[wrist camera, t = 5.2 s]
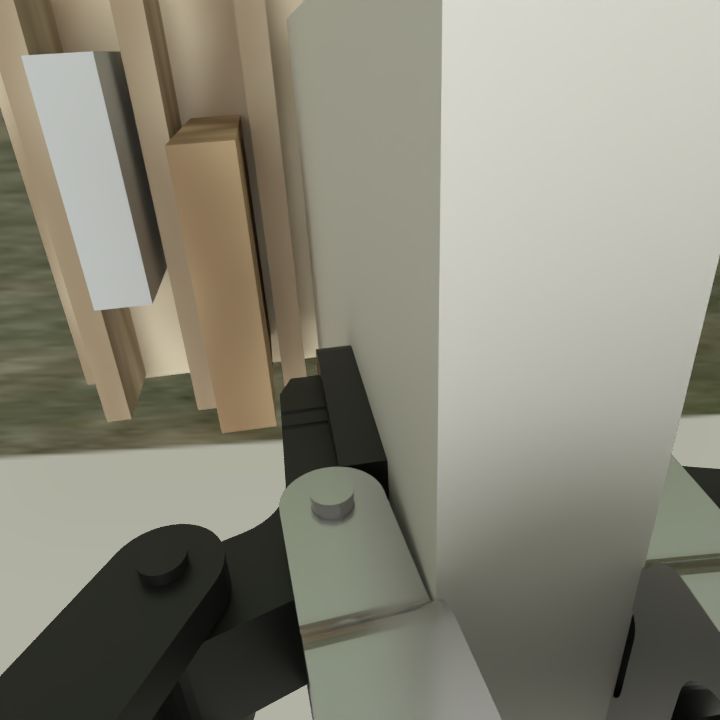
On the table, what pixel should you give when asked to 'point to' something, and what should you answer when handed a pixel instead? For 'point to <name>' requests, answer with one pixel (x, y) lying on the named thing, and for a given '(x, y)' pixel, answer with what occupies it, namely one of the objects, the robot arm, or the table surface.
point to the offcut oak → (225, 267)
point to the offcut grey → (100, 173)
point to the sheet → (517, 295)
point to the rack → (155, 129)
